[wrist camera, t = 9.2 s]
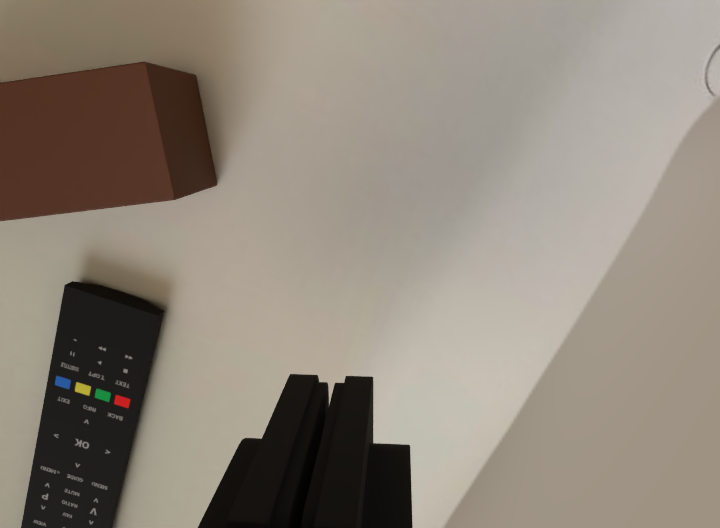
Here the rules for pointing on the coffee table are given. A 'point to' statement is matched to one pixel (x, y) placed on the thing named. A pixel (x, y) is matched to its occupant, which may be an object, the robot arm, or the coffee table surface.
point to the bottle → (101, 140)
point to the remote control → (90, 407)
